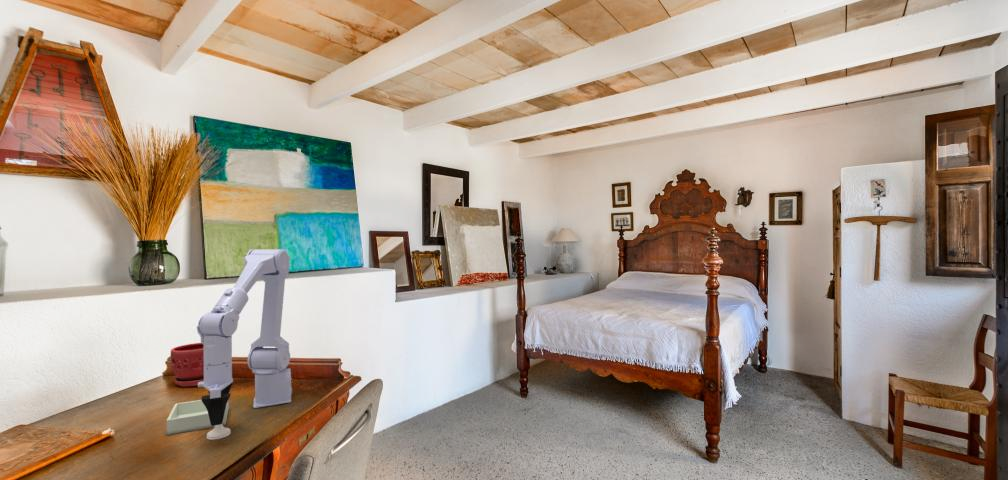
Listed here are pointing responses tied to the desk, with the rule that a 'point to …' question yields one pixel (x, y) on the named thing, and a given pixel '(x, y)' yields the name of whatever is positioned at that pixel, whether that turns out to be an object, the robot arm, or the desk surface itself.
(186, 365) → the plant pot
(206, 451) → the desk surface
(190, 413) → the box
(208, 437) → the chess piece
